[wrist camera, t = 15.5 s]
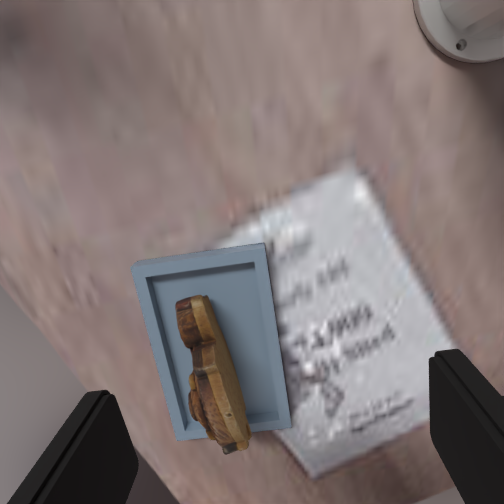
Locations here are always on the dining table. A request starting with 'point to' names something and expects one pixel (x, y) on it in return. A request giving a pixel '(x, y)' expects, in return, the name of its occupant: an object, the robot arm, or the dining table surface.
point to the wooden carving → (212, 376)
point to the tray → (230, 322)
